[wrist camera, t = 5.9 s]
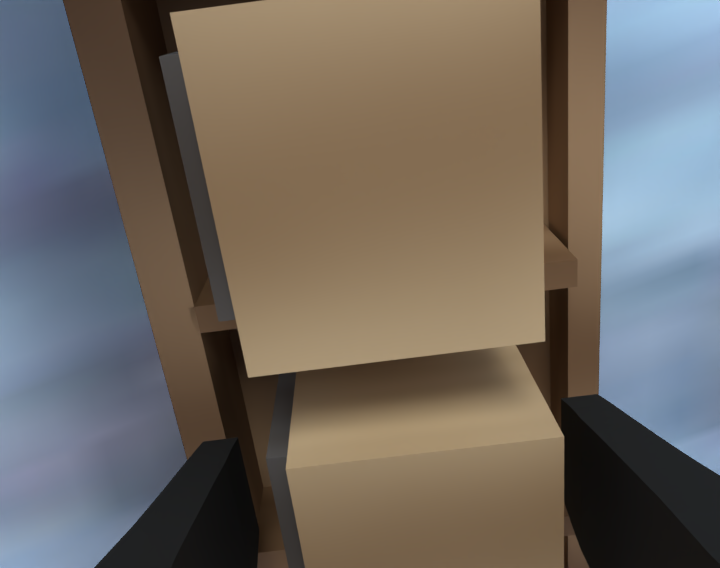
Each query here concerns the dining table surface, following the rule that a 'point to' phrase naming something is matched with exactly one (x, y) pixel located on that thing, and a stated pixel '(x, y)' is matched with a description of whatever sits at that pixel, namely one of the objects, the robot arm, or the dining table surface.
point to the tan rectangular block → (418, 465)
